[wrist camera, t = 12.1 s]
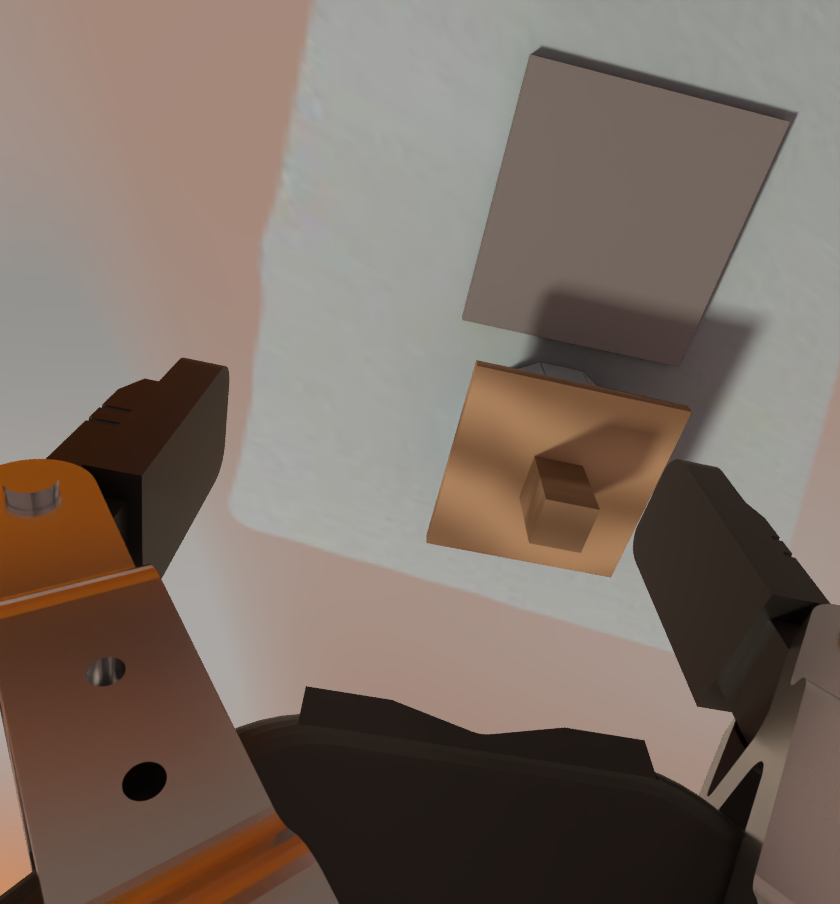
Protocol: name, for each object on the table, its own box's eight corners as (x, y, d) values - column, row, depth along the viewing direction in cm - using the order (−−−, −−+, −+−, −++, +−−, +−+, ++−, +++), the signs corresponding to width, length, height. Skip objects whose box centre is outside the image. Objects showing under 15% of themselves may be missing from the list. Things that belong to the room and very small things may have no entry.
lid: (476, 360, 35) (482, 401, 30) (687, 405, 36) (723, 452, 32) (426, 535, 41) (425, 591, 37) (607, 569, 42) (629, 628, 38)
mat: (529, 55, 32) (531, 54, 31) (784, 121, 33) (790, 121, 33) (462, 316, 39) (462, 319, 38) (675, 363, 40) (678, 367, 40)
